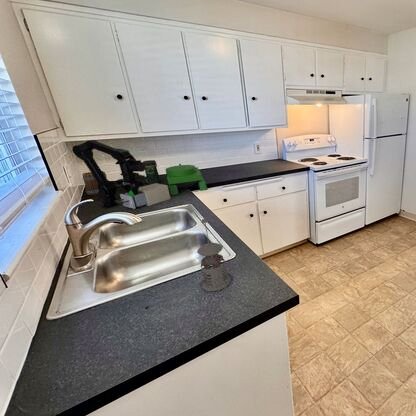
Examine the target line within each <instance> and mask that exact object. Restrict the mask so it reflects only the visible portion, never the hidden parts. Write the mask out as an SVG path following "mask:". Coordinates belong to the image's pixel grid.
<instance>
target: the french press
mask: <svg viewBox="0 0 416 416" xmlns="http://www.w3.org/2000/svg"><path fill="white" fill-rule="evenodd" d="M208 222H209V220H208V219H207V218H202V219H201V223H202V224H204V227H205V231H206V237H207V243H205V244H203V245H202V246H200V247H199V248H198V249H197V251H196V252H197V254H198V255H199V256H202V257H203V258H202V259H201V260H200V269H201V274H202V278H203V279H202V280H203V282H202V283H201V288H202V289H203V290H204V291H207V292H216V291H220V290H223V289H224V288H226V287H227V286H228V285H230V283H231V281H232V279H231V276H229V275H228V272H227V265H226V261H225V258H224V256H223V255H222V254H219V253H221V251H223V248H224V246H223V245H222V244H221V243H218V242H210V238H209V233H208V228H207V223H208ZM211 266H212V267H211ZM226 280H227V281H226Z"/></svg>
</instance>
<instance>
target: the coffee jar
mask: <svg viewBox="0 0 416 416" xmlns="http://www.w3.org/2000/svg"><path fill="white" fill-rule="evenodd" d="M141 162H142V163H144V165H145V170H144V172H145V173H144V174H145V179H146V182H147V185H151V184H155V183H157V184H160V183H161V182H162V179H161V176H160V174H159V172H158V168H157V167H158V164H157V161H156V160H155V159H150V160H149V159H148V160H143V161H141Z"/></svg>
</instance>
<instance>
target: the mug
mask: <svg viewBox="0 0 416 416" xmlns="http://www.w3.org/2000/svg"><path fill="white" fill-rule="evenodd" d="M101 171H102V172H103V174H104V175H105V177H106V179H107V174H106V172H105V171H104V170H101ZM82 180H83V183H84V187H85V192H86V194H87V195H89V196H97V194H98V192H99V189H98V182H97V181H96V179H95V178H94V176H93V175H92V173H91V172H90V171H88V172H83V173H82ZM107 180H108V179H107Z"/></svg>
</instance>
